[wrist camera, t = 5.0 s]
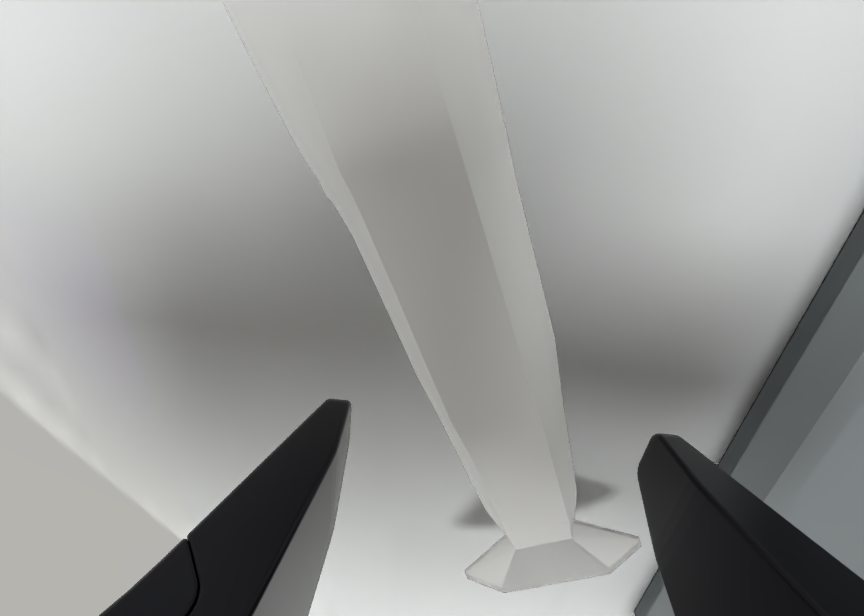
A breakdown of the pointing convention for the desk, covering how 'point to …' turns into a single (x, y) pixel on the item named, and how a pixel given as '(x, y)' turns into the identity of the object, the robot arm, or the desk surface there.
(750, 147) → the desk surface
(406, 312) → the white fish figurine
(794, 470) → the razor tray
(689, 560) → the robot arm
